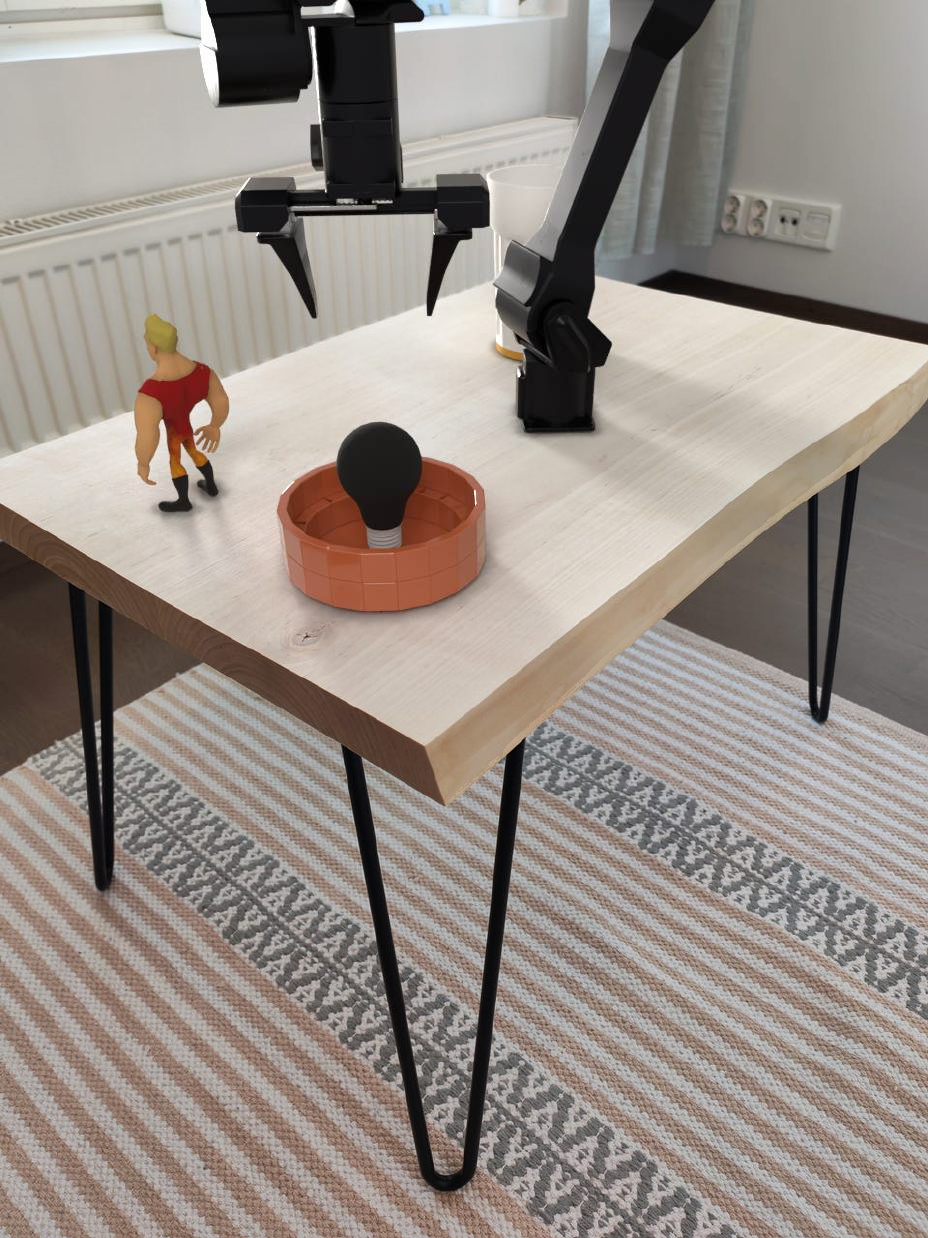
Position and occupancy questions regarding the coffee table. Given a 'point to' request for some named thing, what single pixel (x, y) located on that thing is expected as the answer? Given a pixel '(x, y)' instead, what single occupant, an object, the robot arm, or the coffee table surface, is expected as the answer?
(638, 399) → the coffee table surface
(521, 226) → the cup
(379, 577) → the bowl
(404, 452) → the light bulb
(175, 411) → the action figure
